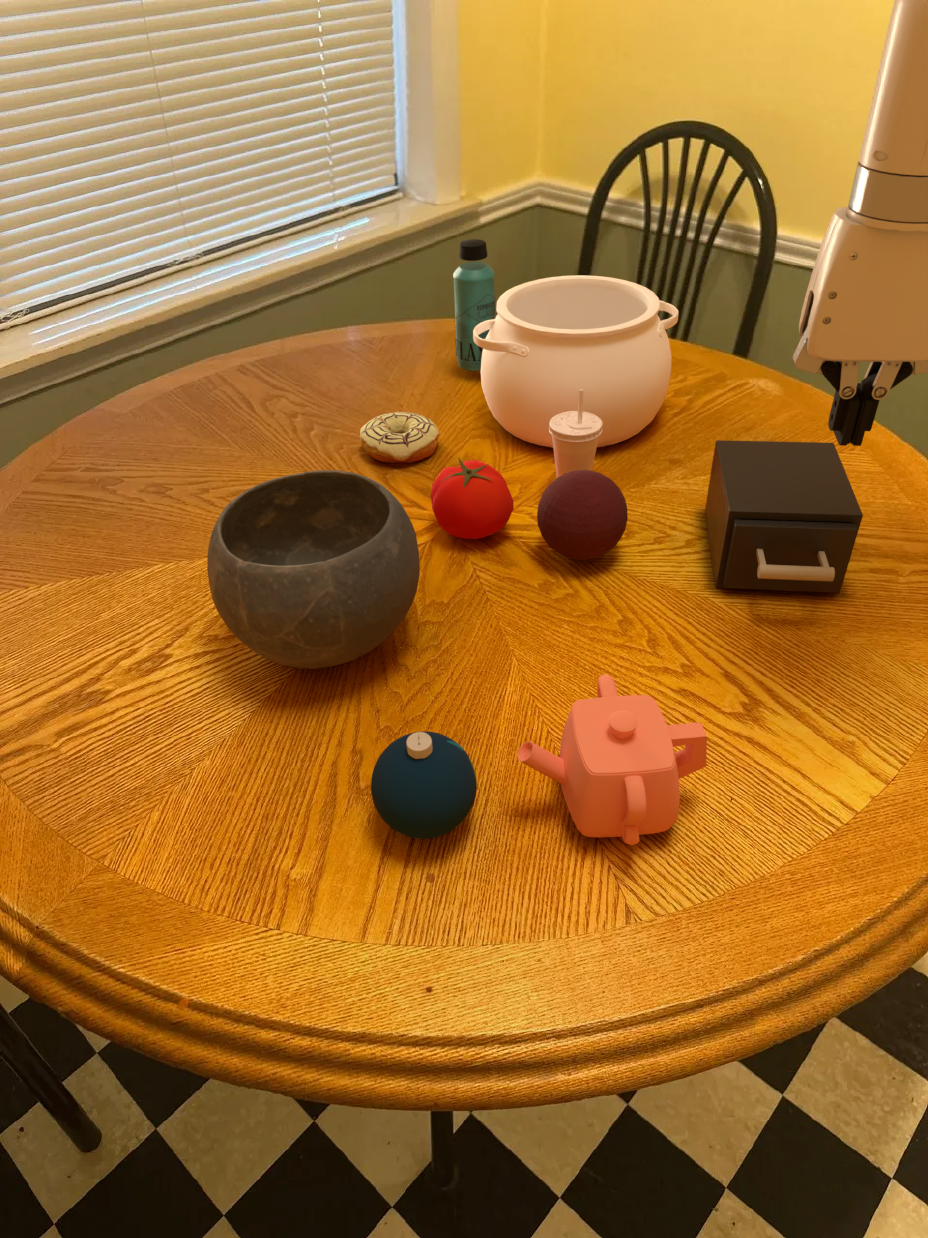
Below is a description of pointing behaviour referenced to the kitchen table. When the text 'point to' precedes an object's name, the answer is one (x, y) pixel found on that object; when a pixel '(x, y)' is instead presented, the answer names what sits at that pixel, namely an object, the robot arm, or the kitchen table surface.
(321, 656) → the bowl
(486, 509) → the tomato
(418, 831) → the christmas ornament
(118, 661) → the kitchen table surface
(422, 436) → the decorated donut
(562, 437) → the smoothie
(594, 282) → the pot
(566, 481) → the decorative ball
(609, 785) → the teapot
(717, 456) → the cabinet
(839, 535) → the drawer
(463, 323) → the beverage bottle
